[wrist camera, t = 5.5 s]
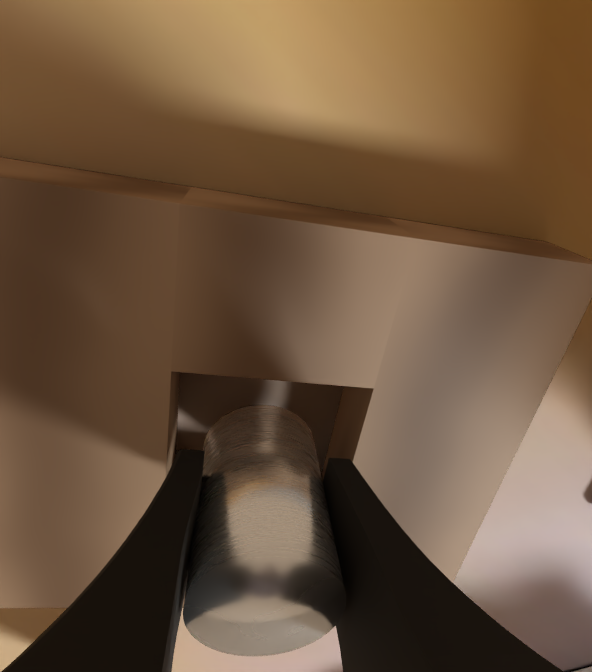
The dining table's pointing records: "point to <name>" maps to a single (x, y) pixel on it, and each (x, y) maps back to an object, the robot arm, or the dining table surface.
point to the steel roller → (262, 539)
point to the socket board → (254, 353)
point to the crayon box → (585, 670)
